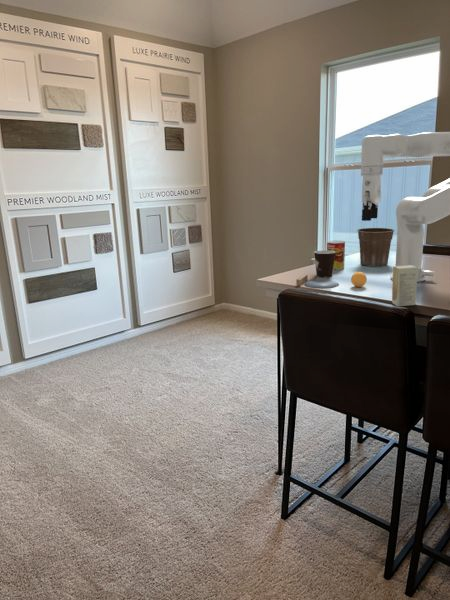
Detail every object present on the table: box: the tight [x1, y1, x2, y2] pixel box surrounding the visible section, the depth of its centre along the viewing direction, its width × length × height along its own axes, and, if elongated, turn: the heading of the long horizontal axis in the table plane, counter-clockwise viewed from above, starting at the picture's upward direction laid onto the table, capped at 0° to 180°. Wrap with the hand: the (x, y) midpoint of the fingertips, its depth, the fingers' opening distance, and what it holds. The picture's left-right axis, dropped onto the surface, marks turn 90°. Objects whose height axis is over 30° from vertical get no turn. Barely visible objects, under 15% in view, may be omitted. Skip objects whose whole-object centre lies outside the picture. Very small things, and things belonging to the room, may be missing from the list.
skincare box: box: [391, 265, 418, 307], centre depth 142 cm, size 6×4×12 cm
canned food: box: [326, 240, 346, 270], centre depth 203 cm, size 8×8×12 cm
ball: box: [350, 271, 368, 288], centre depth 167 cm, size 6×6×6 cm
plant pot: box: [356, 227, 395, 268], centre depth 207 cm, size 16×16×16 cm
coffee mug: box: [313, 250, 335, 278], centre depth 190 cm, size 12×9×10 cm
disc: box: [304, 279, 340, 289], centre depth 174 cm, size 13×13×1 cm
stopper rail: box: [295, 274, 309, 287], centre depth 177 cm, size 2×10×2 cm, turn 154°
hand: (369, 219), depth 167 cm, fingers open, 9 cm apart
